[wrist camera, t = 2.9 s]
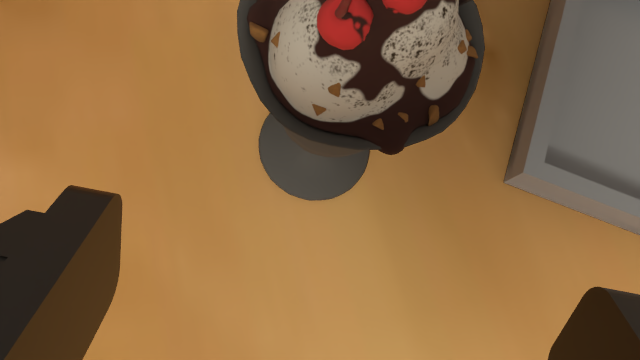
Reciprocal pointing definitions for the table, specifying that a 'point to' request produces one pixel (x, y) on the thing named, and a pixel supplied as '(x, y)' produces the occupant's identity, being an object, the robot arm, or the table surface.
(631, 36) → the tray
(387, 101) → the sundae
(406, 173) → the table surface
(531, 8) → the table surface
